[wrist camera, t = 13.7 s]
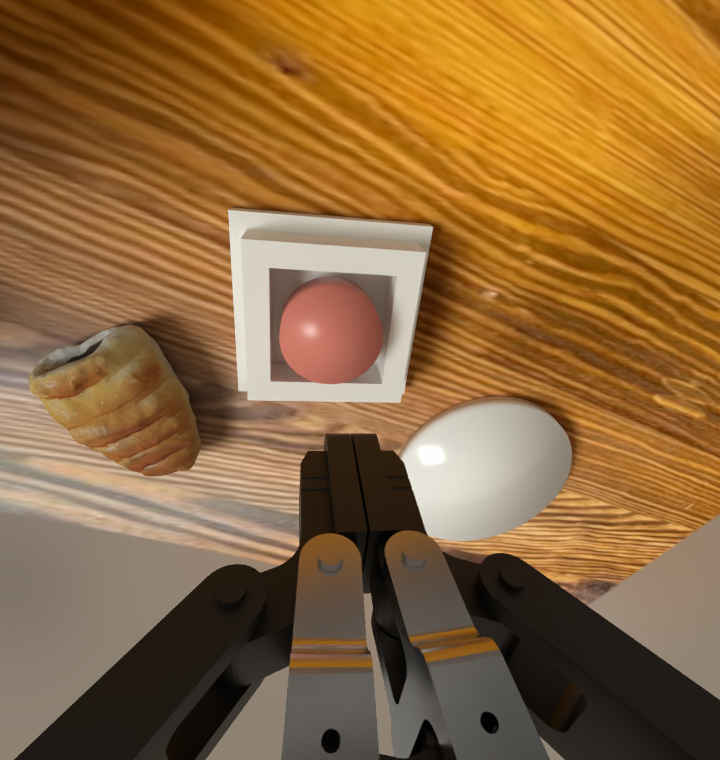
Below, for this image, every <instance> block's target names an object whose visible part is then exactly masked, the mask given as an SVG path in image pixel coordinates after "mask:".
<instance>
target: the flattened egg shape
mask: <svg viewBox="0 0 720 760" xmlns="http://www.w3.org/2000/svg"><path fill="white" fill-rule="evenodd" d="M399 458H400V459H401V460H402V461H403V462H404V464H405V467H406V471H407V474H408V479H409V480H410V483H411V486H412V490H413V492H414V495H415V499H416V502H417V505H418V508H419V511H420V514H421V517H422V520H423V524H424V527H425V530H426V532H427V535H430V536H433V537H436V538H440V539H444V540H452V541H470V540H478V539H484V538H489V537H493V536H496V535H499V534H502V533H505V532H507V531H510V530H512V529H514V528H516V527H518V526H520V525H522V524H524V523H526V522H527V521H529V520H530V519H532V518H533V517H535V516H536V515H537V514H539V513H540V512H541V511H542V510H544V509H545V508H546V507H547V506H548V505H549V504H550V503H551V502H552V501H553V499H554V498H555V497H556V496H557V495H558V493H559V492H560V490H561V489H562V487H563V485H564V484H565V482H566V480H567V477H568V475H569V472H570V468H571V464H572V448H571V444H570V441H569V438H568V436H567V434H566V432H565V431H564V429H563V428H562V427H561V426H560V425H559V423H558V422H557V421H556V420H555V419H554V418H553V417H552V416H551V414H550V413H549V412H547V411H546V410H545V409H544V408H542V407H540V406H539V405H537V404H535V403H533V402H530V401H527V400H525V399H520V398H516V397H507V396H490V397H483V398H477V399H473V400H469V401H465V402H462V403H460V404H457V405H454V406H452V407H450V408H448V409H446V410H444V411H442V412H440V413H439V414H437V415H435V416H434V417H432V418H431V419H429V420H428V421H427V422H426V423H424V424H423V425H422V426H421V427H420V428H419V429H418V430H417V431H416V432H415V433H414V434H413V435H412V436H411V437H410V438H409V440H408V441H407V442H406V443H405V445H404V447H403V448H402V450H401V452H400V454H399Z"/></svg>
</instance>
